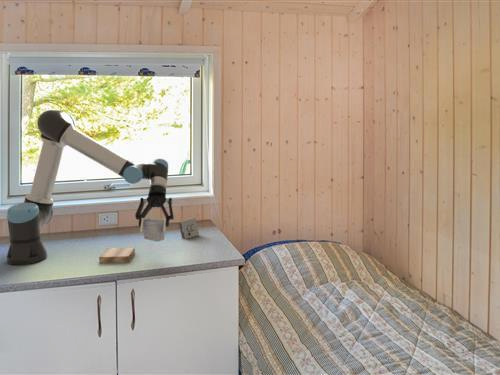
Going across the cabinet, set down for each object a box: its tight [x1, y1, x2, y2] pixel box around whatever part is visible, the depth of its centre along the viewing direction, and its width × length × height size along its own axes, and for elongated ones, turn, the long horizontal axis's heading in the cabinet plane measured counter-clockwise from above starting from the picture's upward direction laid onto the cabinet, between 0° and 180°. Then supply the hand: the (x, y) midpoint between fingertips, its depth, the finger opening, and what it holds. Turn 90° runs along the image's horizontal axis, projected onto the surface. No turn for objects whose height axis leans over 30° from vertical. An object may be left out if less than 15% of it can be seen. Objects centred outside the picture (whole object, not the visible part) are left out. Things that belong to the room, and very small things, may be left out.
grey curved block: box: [143, 217, 165, 242], centre depth 177 cm, size 8×4×9 cm, turn 58°
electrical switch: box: [178, 217, 200, 240], centre depth 211 cm, size 9×5×9 cm, turn 141°
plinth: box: [98, 247, 136, 264], centre depth 178 cm, size 12×12×2 cm
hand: (152, 232), depth 174 cm, fingers closed on grey curved block, 9 cm apart
